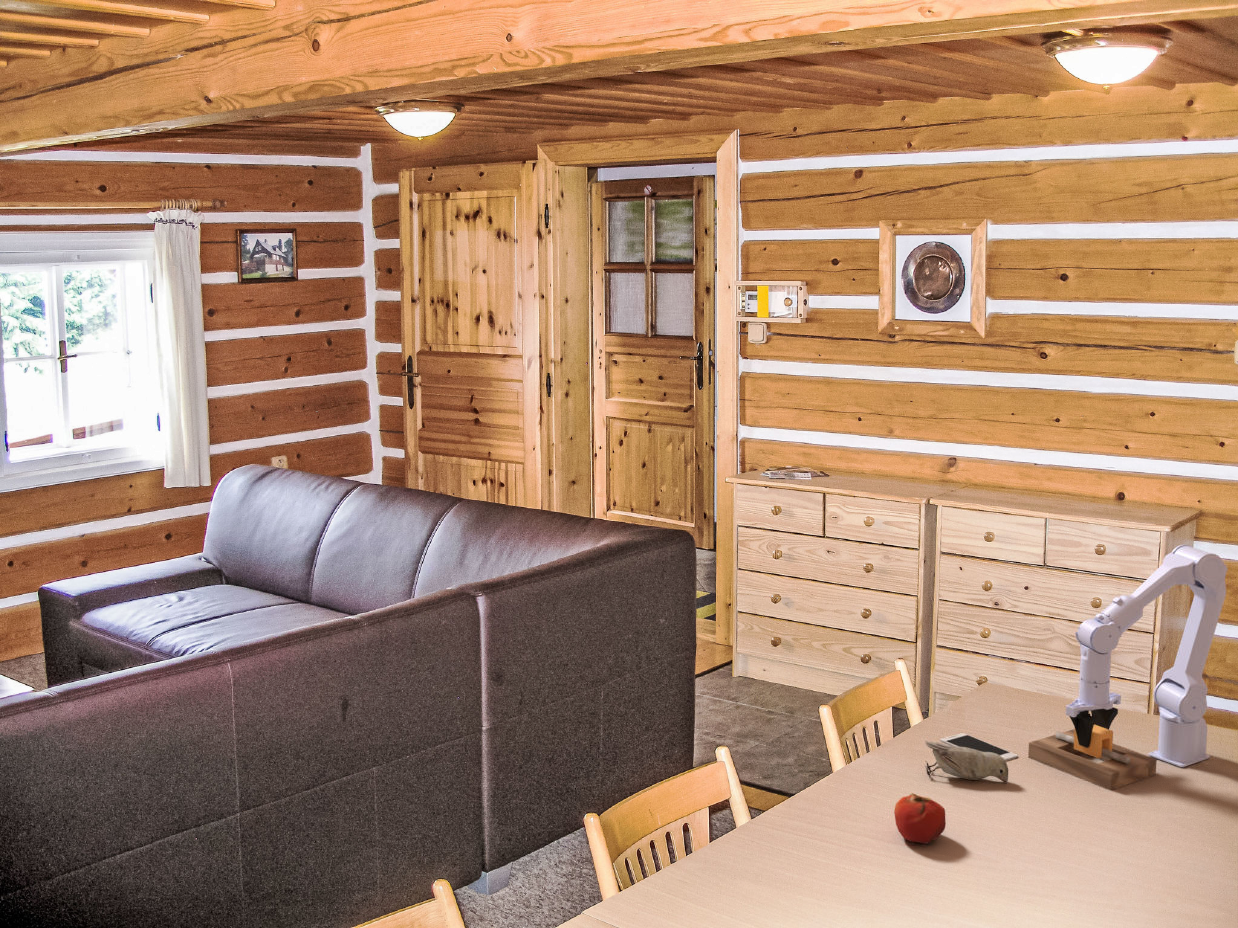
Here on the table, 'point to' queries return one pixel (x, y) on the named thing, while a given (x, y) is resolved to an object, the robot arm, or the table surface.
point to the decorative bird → (967, 762)
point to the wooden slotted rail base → (1109, 774)
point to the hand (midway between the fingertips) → (1091, 743)
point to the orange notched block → (1096, 741)
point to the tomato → (919, 818)
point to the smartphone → (977, 745)
